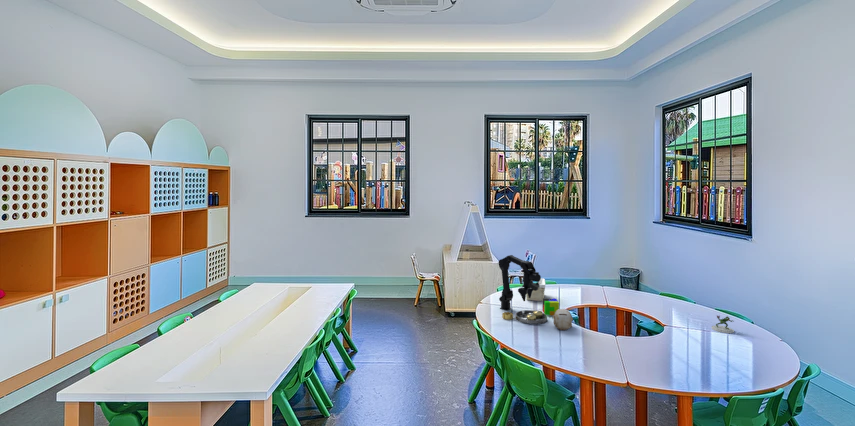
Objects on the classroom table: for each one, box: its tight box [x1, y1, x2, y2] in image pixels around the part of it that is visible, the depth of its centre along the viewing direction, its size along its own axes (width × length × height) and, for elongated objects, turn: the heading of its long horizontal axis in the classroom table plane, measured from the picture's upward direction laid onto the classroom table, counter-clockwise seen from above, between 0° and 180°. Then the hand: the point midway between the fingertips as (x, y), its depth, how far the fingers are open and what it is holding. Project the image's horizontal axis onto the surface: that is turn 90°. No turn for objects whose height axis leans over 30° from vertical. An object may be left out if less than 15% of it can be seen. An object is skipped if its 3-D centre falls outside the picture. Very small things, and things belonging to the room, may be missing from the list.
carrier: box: [514, 309, 548, 325], centre depth 283 cm, size 22×22×5 cm
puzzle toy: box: [542, 297, 560, 316], centre depth 294 cm, size 10×10×10 cm
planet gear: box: [501, 311, 514, 321], centre depth 285 cm, size 7×7×4 cm
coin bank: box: [552, 308, 574, 331], centre depth 266 cm, size 16×17×13 cm
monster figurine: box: [711, 314, 735, 334], centre depth 258 cm, size 12×12×10 cm
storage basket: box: [526, 277, 546, 302], centre depth 335 cm, size 24×16×15 cm
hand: (526, 299), depth 286 cm, fingers open, 9 cm apart
